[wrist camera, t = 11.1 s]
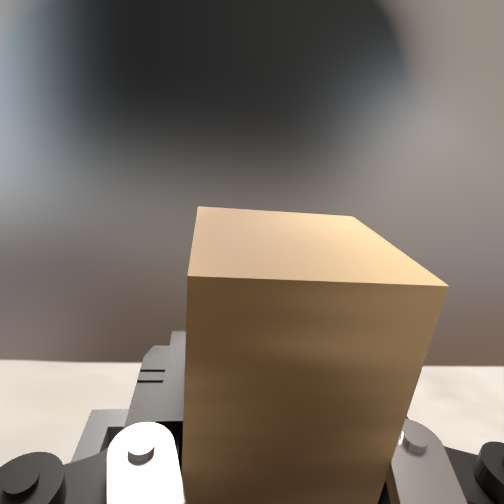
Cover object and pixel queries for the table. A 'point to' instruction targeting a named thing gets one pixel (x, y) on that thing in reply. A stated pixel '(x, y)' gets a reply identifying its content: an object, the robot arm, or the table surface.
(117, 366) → the table surface
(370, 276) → the oak block
